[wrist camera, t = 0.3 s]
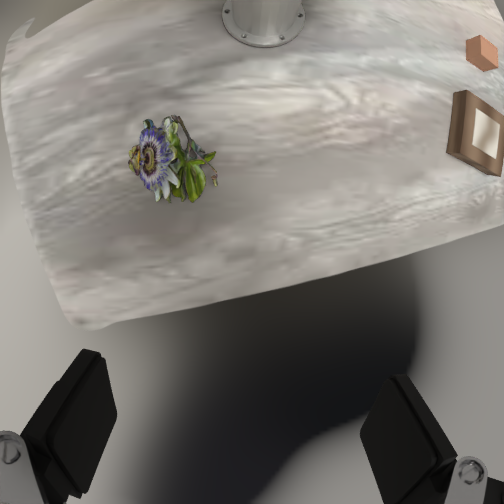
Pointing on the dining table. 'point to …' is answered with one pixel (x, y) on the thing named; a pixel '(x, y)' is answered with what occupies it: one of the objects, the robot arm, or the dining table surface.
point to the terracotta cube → (481, 53)
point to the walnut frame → (476, 133)
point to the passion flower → (162, 153)
